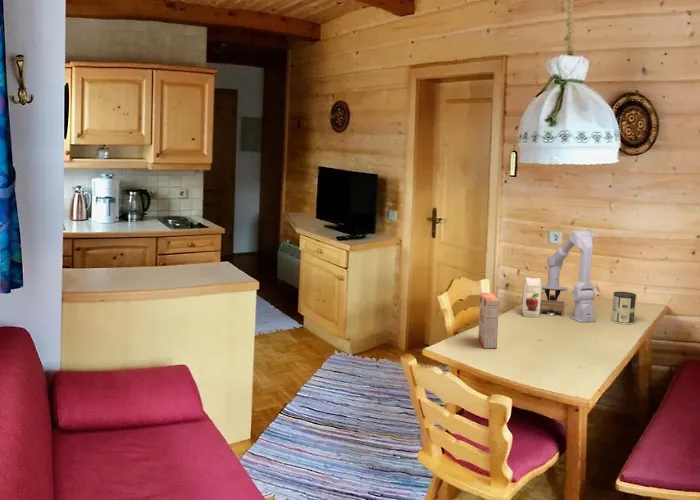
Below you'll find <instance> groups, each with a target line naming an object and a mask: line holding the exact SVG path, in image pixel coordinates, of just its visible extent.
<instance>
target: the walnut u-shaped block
mask: <svg viewBox="0 0 700 500" xmlns="http://www.w3.org/2000/svg"><path fill="white" fill-rule="evenodd" d="M565 306H566V305H565V301H562V300H556V301H553V300H550V299H549V300H547V299H541V303H540V313H539V315H542V311H543V310H545V311H548V310H554V312H555V311H557V312H560V316H561V317H564V315H565Z"/></svg>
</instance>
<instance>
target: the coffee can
mask: <svg viewBox="0 0 700 500" xmlns="http://www.w3.org/2000/svg"><path fill="white" fill-rule="evenodd" d="M636 299H637V293H634V292H630V291H629V292H628V291H614V292H613V299H612V308H611V309H612V311H611V319H610V321H611V322H613V323H615V324H619V325H633V324H634V320H635V310H636V309H635V307H636Z"/></svg>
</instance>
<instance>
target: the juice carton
mask: <svg viewBox="0 0 700 500" xmlns="http://www.w3.org/2000/svg"><path fill="white" fill-rule="evenodd" d="M542 285H543V284H542V279H541V278H540V277H528V276H527V277H524V281H523V289H522V303H521V304H522V305H521V311H522V315H523V317H524V316H525V318H539V315H540V314H539V313H540V303H541V300H542Z"/></svg>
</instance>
